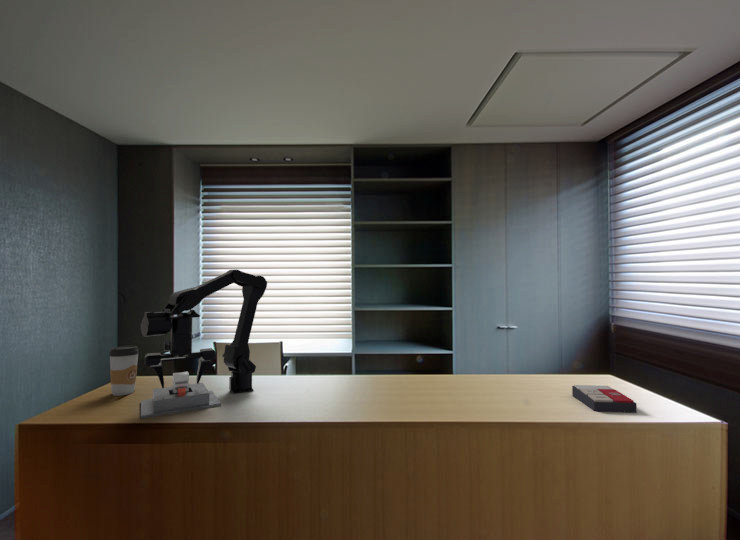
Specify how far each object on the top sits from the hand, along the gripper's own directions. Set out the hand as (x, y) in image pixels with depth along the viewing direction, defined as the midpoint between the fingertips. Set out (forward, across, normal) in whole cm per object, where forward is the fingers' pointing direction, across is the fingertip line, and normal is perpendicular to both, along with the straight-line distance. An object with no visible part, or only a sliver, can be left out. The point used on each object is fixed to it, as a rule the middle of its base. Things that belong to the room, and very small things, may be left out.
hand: (180, 385), depth 111 cm
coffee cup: (+6, +15, -24) cm, 29 cm away
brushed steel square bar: (+5, 0, 0) cm, 5 cm away
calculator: (+6, -106, +67) cm, 125 cm away
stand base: (+6, 0, 0) cm, 6 cm away
